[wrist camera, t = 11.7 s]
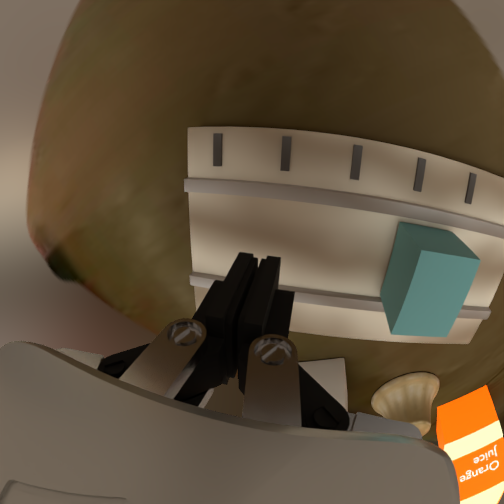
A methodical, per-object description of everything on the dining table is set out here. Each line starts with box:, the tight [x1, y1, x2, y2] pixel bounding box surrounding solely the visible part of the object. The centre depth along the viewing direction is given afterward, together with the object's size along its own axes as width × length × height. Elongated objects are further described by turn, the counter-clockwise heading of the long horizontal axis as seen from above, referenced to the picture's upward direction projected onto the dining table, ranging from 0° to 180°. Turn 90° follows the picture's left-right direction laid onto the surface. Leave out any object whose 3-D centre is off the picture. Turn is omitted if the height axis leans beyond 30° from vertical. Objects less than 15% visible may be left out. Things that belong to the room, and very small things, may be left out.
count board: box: [184, 127, 504, 344], centre depth 17 cm, size 14×24×3 cm, turn 88°
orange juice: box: [437, 386, 504, 504], centre depth 15 cm, size 8×9×20 cm
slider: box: [380, 222, 481, 337], centre depth 14 cm, size 5×4×4 cm
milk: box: [298, 358, 348, 412], centre depth 15 cm, size 6×6×22 cm
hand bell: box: [371, 372, 439, 436], centre depth 17 cm, size 8×8×16 cm
